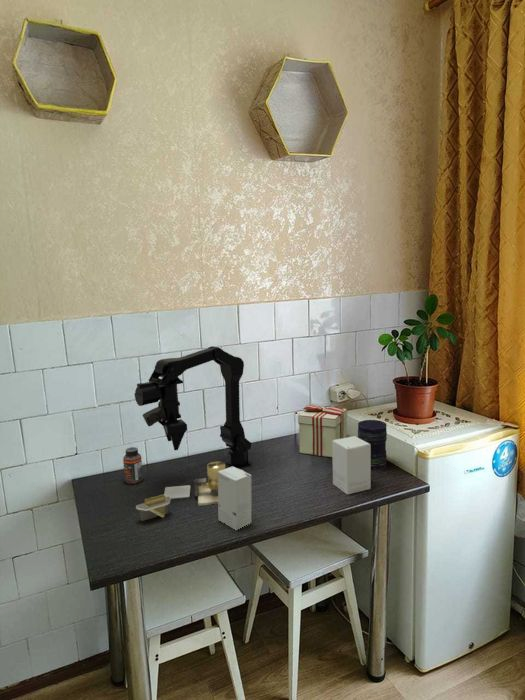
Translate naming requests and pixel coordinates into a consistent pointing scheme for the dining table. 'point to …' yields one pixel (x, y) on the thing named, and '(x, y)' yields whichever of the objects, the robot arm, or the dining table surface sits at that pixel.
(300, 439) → the gift box
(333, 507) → the dining table surface
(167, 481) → the dining table surface
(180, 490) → the grey mat
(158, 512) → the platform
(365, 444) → the supplement box
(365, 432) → the storage jar
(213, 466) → the brass bell
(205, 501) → the cream slotted block
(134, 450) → the supplement bottle
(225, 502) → the skincare box
